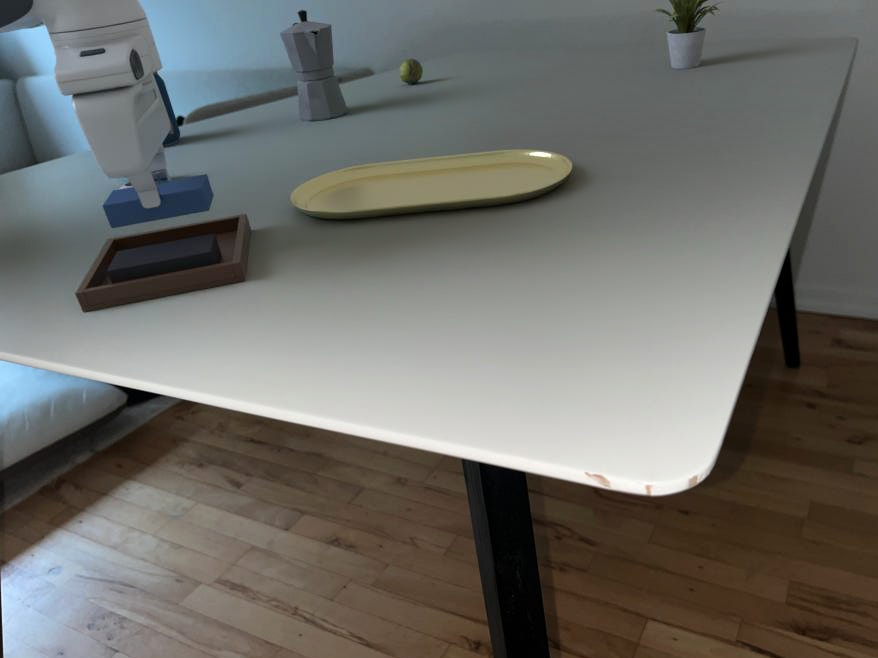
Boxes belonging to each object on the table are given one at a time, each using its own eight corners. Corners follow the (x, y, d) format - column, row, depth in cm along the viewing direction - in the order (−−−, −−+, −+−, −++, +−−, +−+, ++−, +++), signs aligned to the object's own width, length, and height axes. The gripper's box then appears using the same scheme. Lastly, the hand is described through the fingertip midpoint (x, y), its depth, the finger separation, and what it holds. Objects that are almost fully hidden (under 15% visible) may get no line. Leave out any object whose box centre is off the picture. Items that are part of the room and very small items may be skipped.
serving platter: (578, 202, 82) (578, 188, 82) (275, 231, 86) (271, 218, 85) (568, 155, 98) (567, 143, 98) (312, 180, 102) (310, 169, 101)
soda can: (156, 139, 137) (134, 71, 131) (189, 137, 135) (168, 68, 129) (134, 150, 131) (110, 79, 125) (169, 148, 130) (145, 76, 123)
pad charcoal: (115, 293, 73) (106, 270, 72) (125, 272, 78) (117, 251, 77) (218, 274, 75) (210, 251, 74) (221, 254, 80) (214, 233, 78)
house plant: (710, 75, 131) (714, -28, 122) (636, 75, 138) (635, -23, 129) (734, 59, 140) (740, -38, 132) (664, 59, 148) (666, -32, 139)
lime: (398, 86, 156) (394, 61, 153) (412, 81, 159) (408, 56, 156) (414, 86, 153) (410, 61, 151) (428, 81, 157) (425, 56, 154)
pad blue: (111, 228, 76) (102, 205, 75) (121, 212, 81) (112, 190, 80) (209, 210, 78) (202, 187, 76) (213, 195, 82) (207, 173, 81)
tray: (82, 312, 72) (74, 293, 71) (113, 254, 85) (107, 238, 84) (245, 280, 74) (239, 262, 73) (251, 229, 87) (246, 213, 86)
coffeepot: (358, 115, 135) (338, 7, 126) (308, 126, 132) (284, 16, 123) (334, 103, 148) (314, 4, 138) (288, 113, 144) (264, 12, 135)
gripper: (98, 49, 80) (143, 175, 87) (47, 79, 62) (108, 233, 69) (158, 40, 81) (198, 166, 88) (124, 67, 63) (177, 220, 70)
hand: (158, 196), depth 78 cm, fingers closed on pad blue, 5 cm apart
